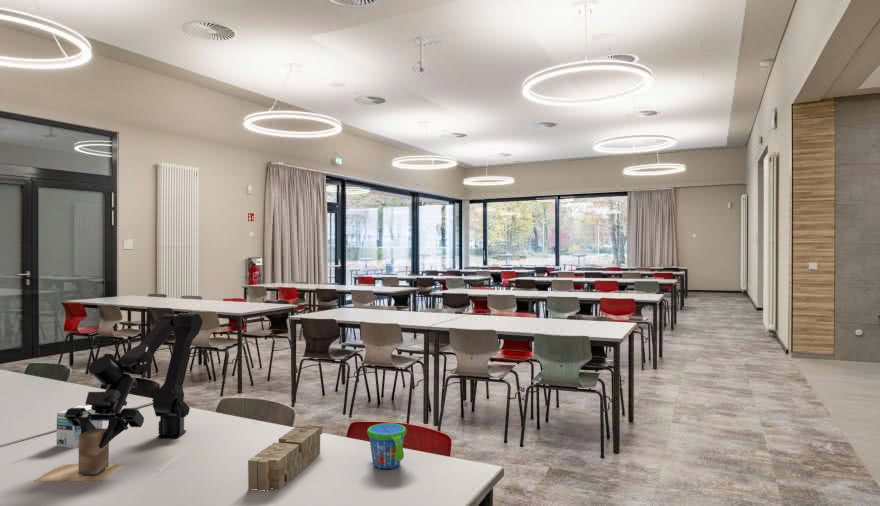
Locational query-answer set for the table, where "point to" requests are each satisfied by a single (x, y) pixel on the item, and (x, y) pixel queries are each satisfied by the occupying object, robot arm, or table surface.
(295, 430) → the block tower
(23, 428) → the table surface
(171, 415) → the robot arm
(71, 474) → the board
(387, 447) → the snack cup
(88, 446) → the block
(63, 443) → the light bulb box
